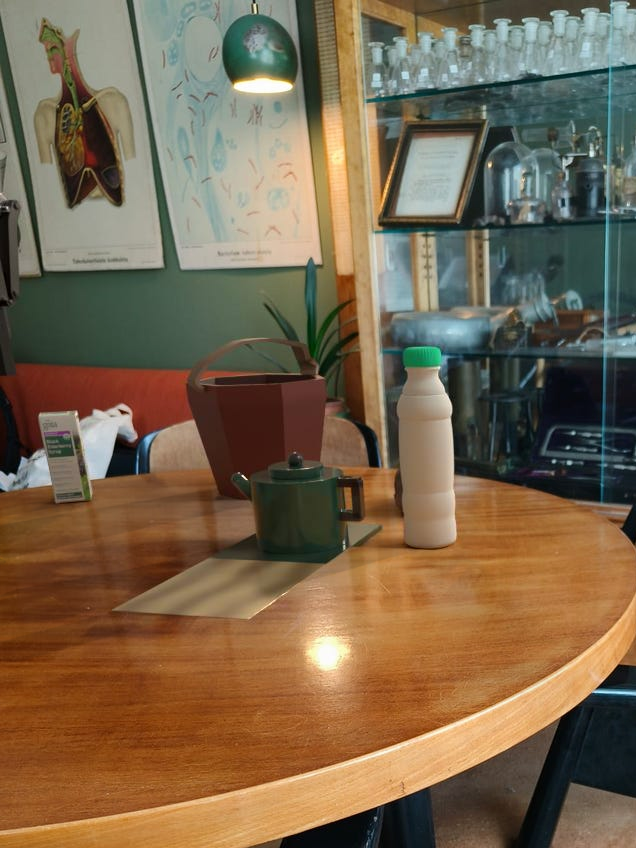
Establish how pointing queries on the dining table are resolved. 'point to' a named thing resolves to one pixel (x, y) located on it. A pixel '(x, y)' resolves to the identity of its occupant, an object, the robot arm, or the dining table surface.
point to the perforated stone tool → (398, 489)
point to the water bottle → (426, 452)
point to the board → (239, 579)
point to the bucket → (257, 415)
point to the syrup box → (65, 456)
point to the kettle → (301, 505)
